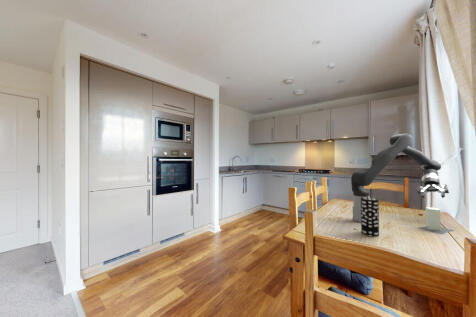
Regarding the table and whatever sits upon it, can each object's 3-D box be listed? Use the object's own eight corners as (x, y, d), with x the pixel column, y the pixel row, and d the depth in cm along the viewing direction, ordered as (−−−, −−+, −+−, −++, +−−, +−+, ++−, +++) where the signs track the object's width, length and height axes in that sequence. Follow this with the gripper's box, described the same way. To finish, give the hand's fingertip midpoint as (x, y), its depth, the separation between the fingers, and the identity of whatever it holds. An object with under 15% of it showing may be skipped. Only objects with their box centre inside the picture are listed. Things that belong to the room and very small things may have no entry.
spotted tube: (379, 237, 103) (379, 200, 103) (361, 234, 108) (360, 199, 108) (378, 232, 111) (377, 198, 110) (361, 230, 115) (360, 196, 115)
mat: (441, 235, 106) (441, 234, 106) (418, 228, 115) (418, 228, 115) (454, 230, 111) (454, 230, 111) (431, 225, 120) (431, 224, 120)
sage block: (440, 230, 110) (440, 210, 110) (428, 229, 113) (428, 209, 113) (437, 228, 115) (436, 208, 114) (425, 226, 117) (425, 207, 117)
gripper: (416, 177, 135) (415, 192, 125) (445, 175, 124) (448, 191, 114) (418, 185, 137) (418, 201, 127) (448, 184, 126) (450, 201, 116)
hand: (432, 196), depth 120 cm, fingers open, 8 cm apart
